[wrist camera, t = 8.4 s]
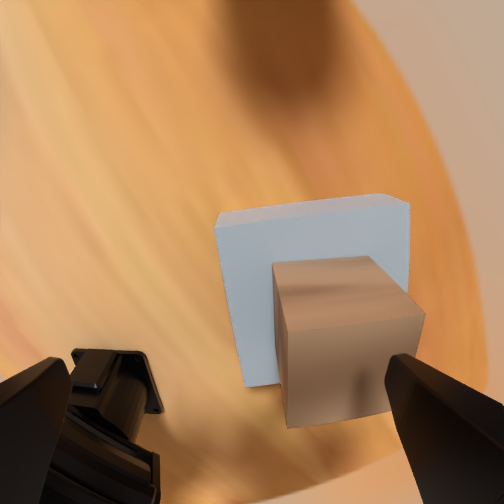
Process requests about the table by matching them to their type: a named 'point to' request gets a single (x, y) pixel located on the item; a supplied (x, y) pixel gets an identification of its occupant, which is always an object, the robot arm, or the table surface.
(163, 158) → the table surface
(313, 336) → the walnut block
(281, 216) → the slate block
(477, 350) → the table surface
